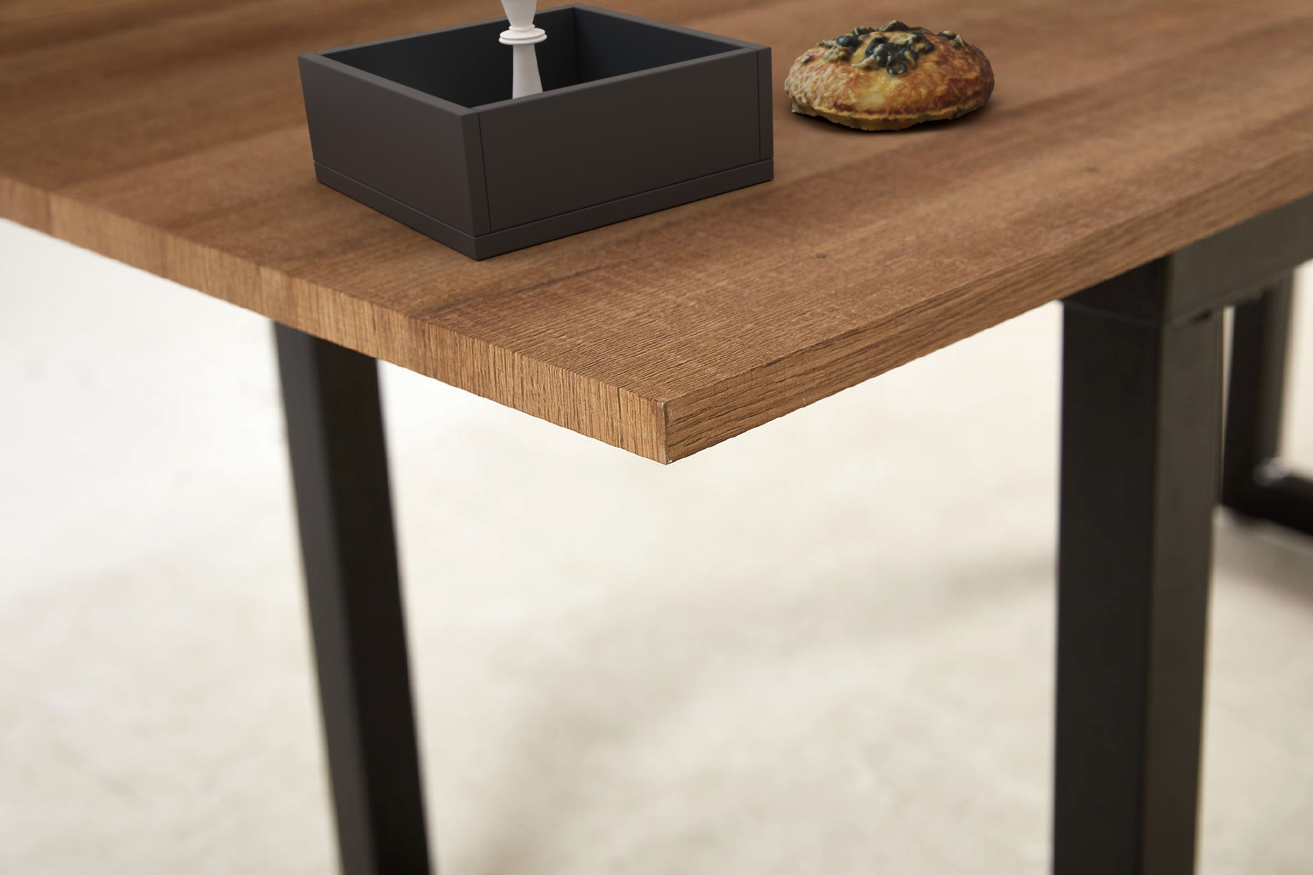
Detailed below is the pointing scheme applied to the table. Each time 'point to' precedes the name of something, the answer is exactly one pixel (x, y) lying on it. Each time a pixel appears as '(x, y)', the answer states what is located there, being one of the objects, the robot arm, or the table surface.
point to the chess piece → (523, 45)
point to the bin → (539, 125)
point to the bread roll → (890, 77)
